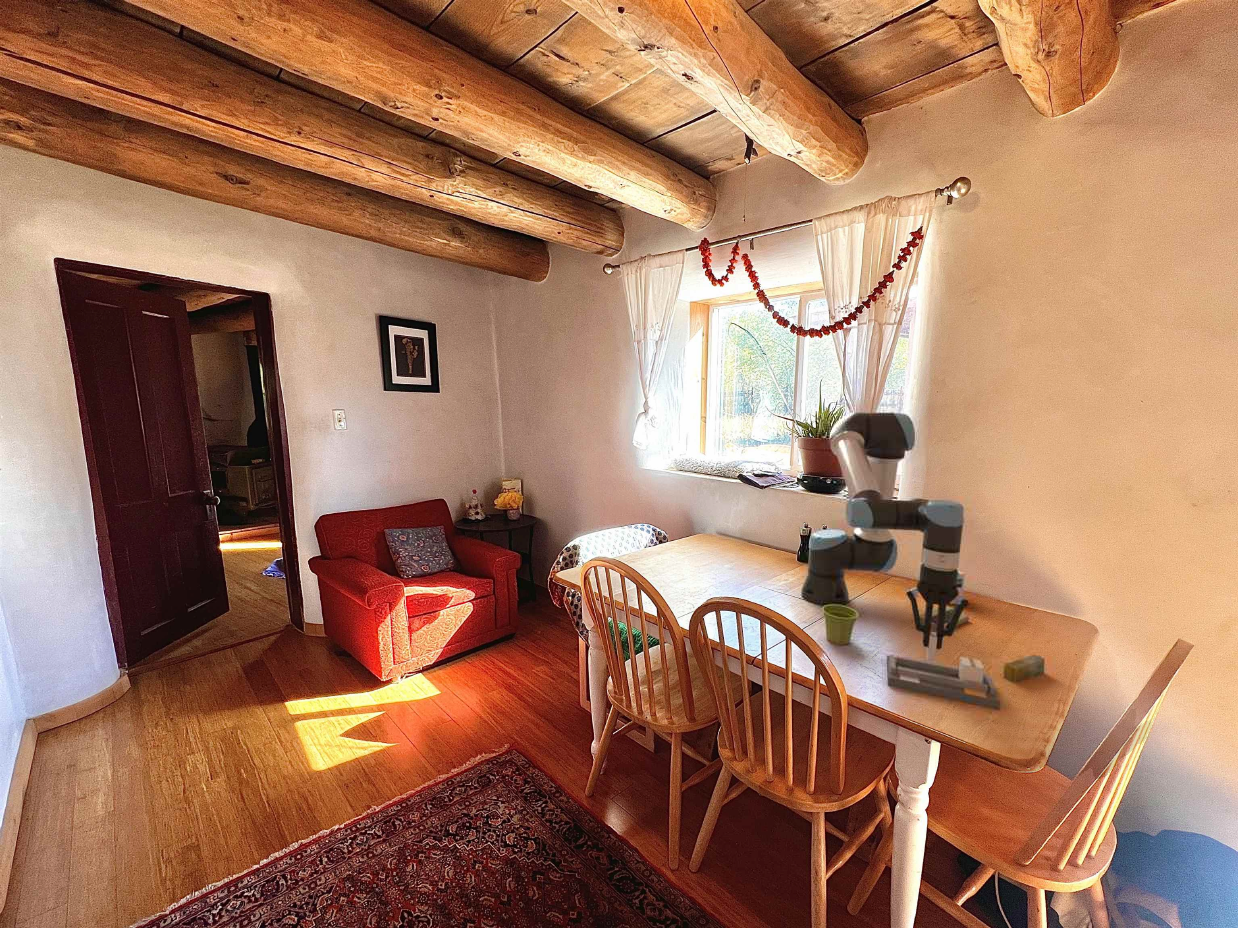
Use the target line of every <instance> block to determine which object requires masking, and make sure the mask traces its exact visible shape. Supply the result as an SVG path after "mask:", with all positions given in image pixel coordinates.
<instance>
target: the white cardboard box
mask: <svg viewBox="0 0 1238 928" xmlns="http://www.w3.org/2000/svg"><path fill="white" fill-rule="evenodd" d="M958 668H959V674H958V676H959V679H960V680H965V681H970V682H975V683H980V684H982V681H983V674H984V672H985V671H984V669H985V668H984V666H983V663H982V660H980V659H976V658H973V657H971V656H967V657H965V656H959V667H958Z"/></svg>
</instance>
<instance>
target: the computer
mask: <svg viewBox="0 0 1238 928" xmlns="http://www.w3.org/2000/svg"><path fill="white" fill-rule="evenodd" d="M953 609H954V608H952V607H950V606H946V611H945V620H944V629H945V628H946V625H947V623H948V621H949V618H950V616H951V613H952V611H953ZM937 614H938V607H936V608H935V609H934V608H933V611H932V622H931V630H932V631H935V632H936V625H937ZM919 616H920V621H921V624H922V625H924V619H925V612H924V613H921V614H919ZM969 619H970V617H969V616H968V615H967V614H965V613H963V612H962V613H961V615H960V618H959V620H958V622H957V625H956V627H958V626H961V625H963V624H965V623H967V622H968V621H969Z"/></svg>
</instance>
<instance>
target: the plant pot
mask: <svg viewBox="0 0 1238 928" xmlns="http://www.w3.org/2000/svg"><path fill="white" fill-rule="evenodd" d="M822 612H823V615H824V619H825V620H824V622H825V633H826V635H825V636H826V639H827V641H830V642H831V643H833V644H836V645H841V646H842V645H846V644H850V642H851V639H852V632H853V629H854V625H855V622H856V621H857V618H858V617H859V613H858V611H857V610H856V609H853V608H851V607H849V606H845V605H823V606H822Z"/></svg>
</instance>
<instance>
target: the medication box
mask: <svg viewBox="0 0 1238 928" xmlns="http://www.w3.org/2000/svg"><path fill="white" fill-rule="evenodd" d="M1043 674H1045V658H1043V657H1041V656H1038V655H1035V654H1031V655H1030V656H1026V657H1023V658H1020V659H1019V658H1018V659H1017V660H1014V661H1011V662H1008V663H1005V664H1004V670H1003V679H1005V680H1007V681H1009V682H1012V683H1014V684H1017V683H1019V682H1022V681H1026V680H1028V679H1032V678H1035V677H1037V676H1040V675H1041V676H1042V675H1043Z"/></svg>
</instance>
